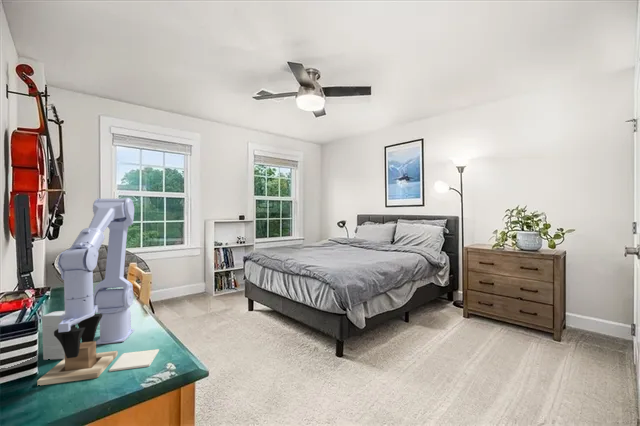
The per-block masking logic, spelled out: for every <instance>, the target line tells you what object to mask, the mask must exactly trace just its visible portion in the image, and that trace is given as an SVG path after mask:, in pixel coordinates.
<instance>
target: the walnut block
mask: <svg viewBox="0 0 640 426" xmlns="http://www.w3.org/2000/svg"><path fill="white" fill-rule="evenodd" d="M96 341H97V340H94V341H93V342H83V343H82V342H80V349H79V354H78V356H77V357H74V358H67V357H66V355H65V371H72V370H80V369H88V368H92V367H93V366H94V365H95V364H96V363H97V362H96V353H97V345H96Z"/></svg>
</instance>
